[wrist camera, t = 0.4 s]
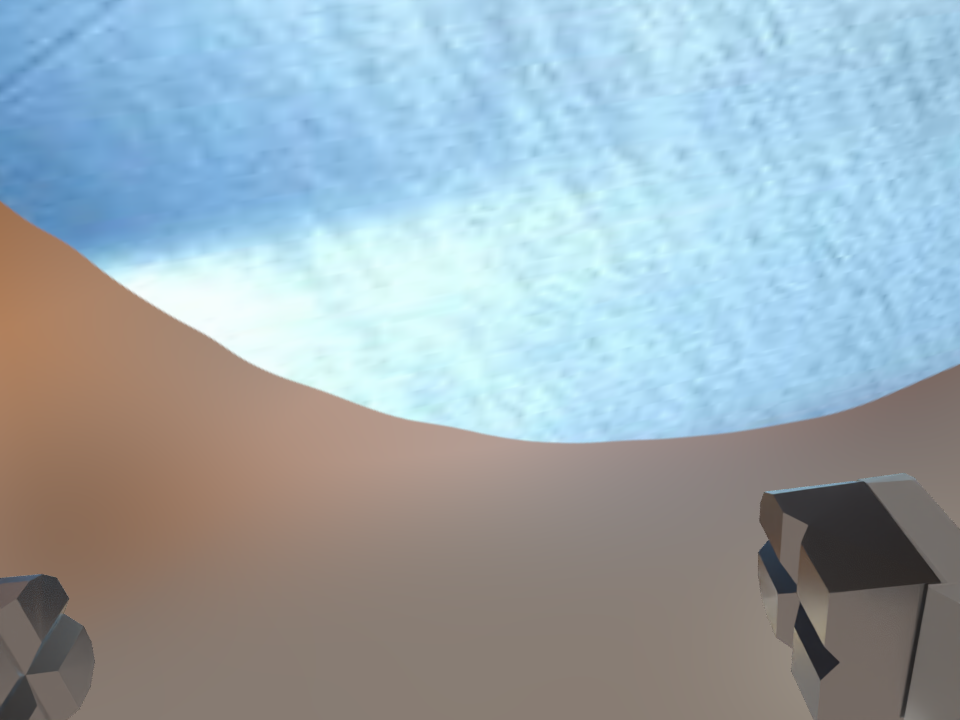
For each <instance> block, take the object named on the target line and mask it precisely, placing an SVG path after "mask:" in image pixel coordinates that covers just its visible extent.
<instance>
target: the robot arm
mask: <svg viewBox="0 0 960 720" xmlns="http://www.w3.org/2000/svg"><path fill="white" fill-rule="evenodd" d="M759 521H760V523H761V525H762V527H763V529H764V531H765V533H766V535H767V537H768V539H769V540H768V541H767V542H766V544H765V545H764V546H763V547H762V548H761V549H760V551H759V552H758V578H759V585H760V591H761V597H762V602H763V605H764V608H765V611H766V614H767V617H768V620H769V622H770V625H771V627H772V629H773V631H774V634H775V636H776V638H778V639H779V640H781V641H782V642H783V643H785V644H787V645H788V646H790V647H791V648H793V652H792V668H791V672H792V674H793V676H794V678H795V680H796V682H797V685H798V687H799V689H800V691H801V693H802V695H803V698H804V700H805V702H806V704H807V706H808V709H809V711H810V713H811V715H812V717H813V719H814V720H960V529H959V528H958V527H957V526H956V524H955V523H954V522H953V521H952V520H951V519H950V518H949V516H948V515H947V514H946V513H945V512H944V511H943V510H942V509H941V507H940V506H939V505H938V504H937V503H936V502H935V501H934V499H933V498H932V497H931V496H930V495H929V494H928V493H927V491H926V490H925V489H924V488H923V487H922V486H921V485H920V483H919V482H918V481H917V480H916V479H915V478H914V477H912V476H910V475H907V474H905V473H901V474H894V475H887V476H880V477H872V478H865V479H858V480H857V481H854V482H853V481H852V482H843V483H835V484H827V485H818V486H810V487H801V488H793V489H784V490H776V491H768V492H764V494H763V496H762V500H761V502H760V518H759ZM68 600H69V597H68V596H67V594H66V592H65V591H64V589H63V587H62V586H61V584H60V582H59V581H58V579H57V578H56V577H52V576H48V575H44V574H38V575H27V576H17V577H6V578H0V720H68V719H69V718H70V717H71V716H72V715H73V714H74V713H76V712H77V711H78V710H79V709H80V707H81V705H82V703H83V701H84V699H85V697H86V695H87V693H88V691H89V689H90V687H91V681H92V675H93V669H94V663H95V660H94V654H93V647H92V642H91V640H90V638H89V636H88V634H87V632H86V630H85V628H84V626H82V625H81V624H79V623H78V622H76V621H75V620H73V619H71V618H70V617H68V616H67V615H65V614H64V612H65V609H66V606H67V603H68Z"/></svg>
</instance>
